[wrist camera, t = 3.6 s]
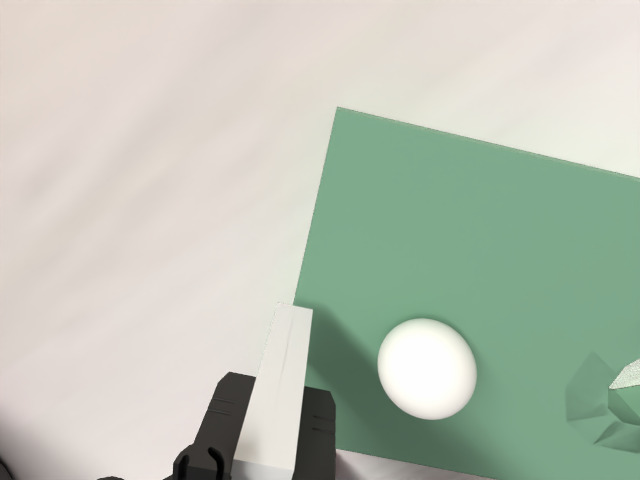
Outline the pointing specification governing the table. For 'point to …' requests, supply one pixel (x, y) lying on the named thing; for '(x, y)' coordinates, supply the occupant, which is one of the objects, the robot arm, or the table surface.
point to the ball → (427, 369)
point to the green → (477, 299)
